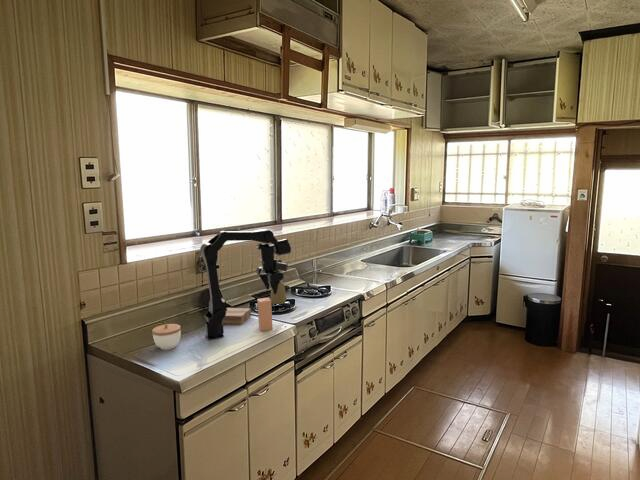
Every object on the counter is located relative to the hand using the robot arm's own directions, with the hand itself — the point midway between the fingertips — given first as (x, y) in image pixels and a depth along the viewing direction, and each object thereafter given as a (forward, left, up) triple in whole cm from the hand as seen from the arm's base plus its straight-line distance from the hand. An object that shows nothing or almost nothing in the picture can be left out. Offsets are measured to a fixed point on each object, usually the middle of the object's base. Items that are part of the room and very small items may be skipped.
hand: (271, 291), depth 194 cm
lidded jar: (-46, -1, -16) cm, 48 cm away
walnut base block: (-13, +17, -16) cm, 26 cm away
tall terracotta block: (-5, -3, -15) cm, 16 cm away
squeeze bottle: (+13, +25, -15) cm, 32 cm away
